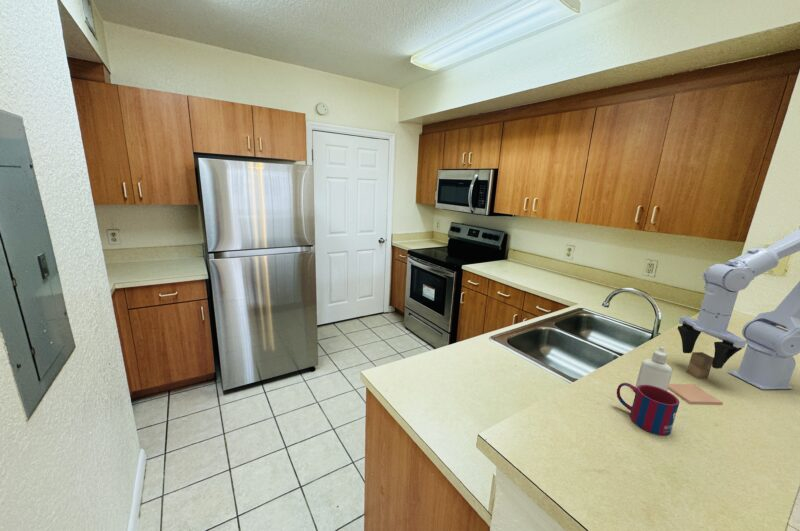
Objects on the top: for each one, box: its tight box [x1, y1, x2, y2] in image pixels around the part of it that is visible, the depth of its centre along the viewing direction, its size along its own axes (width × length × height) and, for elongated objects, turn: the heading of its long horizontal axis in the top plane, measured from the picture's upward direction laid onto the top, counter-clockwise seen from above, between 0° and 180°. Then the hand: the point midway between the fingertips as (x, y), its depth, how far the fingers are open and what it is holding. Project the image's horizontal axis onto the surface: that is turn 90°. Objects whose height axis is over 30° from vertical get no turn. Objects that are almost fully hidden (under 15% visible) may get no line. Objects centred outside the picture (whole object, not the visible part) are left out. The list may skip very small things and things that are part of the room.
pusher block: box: [686, 351, 714, 380], centre depth 85 cm, size 3×3×6 cm
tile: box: [667, 383, 724, 406], centre depth 77 cm, size 1×7×8 cm
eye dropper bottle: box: [635, 346, 673, 391], centre depth 75 cm, size 4×6×12 cm
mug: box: [616, 382, 680, 436], centre depth 67 cm, size 7×10×7 cm
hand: (701, 359), depth 85 cm, fingers open, 7 cm apart
